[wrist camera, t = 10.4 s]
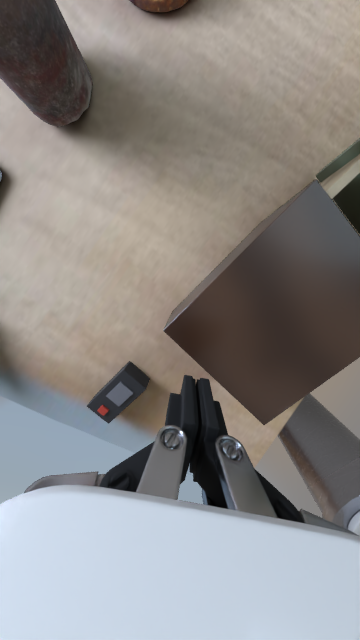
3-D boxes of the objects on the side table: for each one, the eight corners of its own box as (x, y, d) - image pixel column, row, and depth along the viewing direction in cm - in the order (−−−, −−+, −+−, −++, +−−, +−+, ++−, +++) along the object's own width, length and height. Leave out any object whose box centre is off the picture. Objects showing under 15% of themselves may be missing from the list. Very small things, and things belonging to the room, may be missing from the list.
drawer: (373, 118, 17) (503, 5, 10) (435, 212, 19) (586, 172, 12) (223, 267, 21) (242, 260, 14) (286, 334, 23) (331, 359, 16)
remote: (129, 360, 26) (122, 370, 23) (150, 378, 26) (145, 390, 23) (95, 394, 27) (85, 407, 24) (115, 410, 28) (107, 425, 25)
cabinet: (260, 222, 21) (316, 178, 12) (327, 301, 22) (419, 314, 14) (172, 311, 24) (162, 330, 15) (237, 374, 25) (264, 425, 17)
